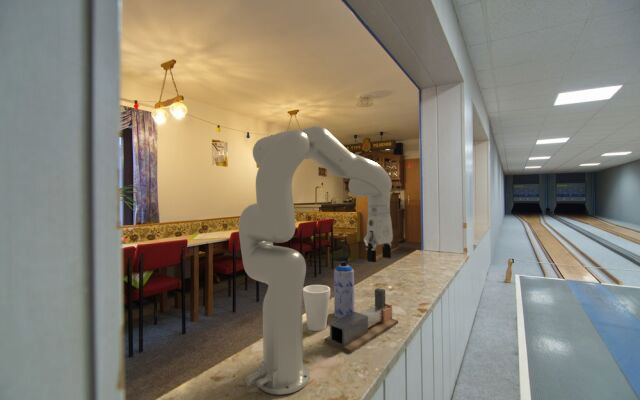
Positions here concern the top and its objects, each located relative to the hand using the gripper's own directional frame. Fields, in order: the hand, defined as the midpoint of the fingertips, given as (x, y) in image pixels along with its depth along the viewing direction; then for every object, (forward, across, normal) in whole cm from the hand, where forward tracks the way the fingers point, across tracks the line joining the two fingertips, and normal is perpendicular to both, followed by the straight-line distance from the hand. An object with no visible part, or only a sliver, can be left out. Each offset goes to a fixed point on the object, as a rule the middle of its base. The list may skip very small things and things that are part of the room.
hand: (379, 259), depth 101 cm
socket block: (+21, +1, 0) cm, 21 cm away
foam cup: (+22, -17, +14) cm, 32 cm away
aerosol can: (+22, -3, +14) cm, 26 cm away
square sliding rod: (+20, -6, 0) cm, 21 cm away
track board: (+22, -10, 0) cm, 24 cm away
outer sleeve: (+21, -17, 0) cm, 27 cm away
